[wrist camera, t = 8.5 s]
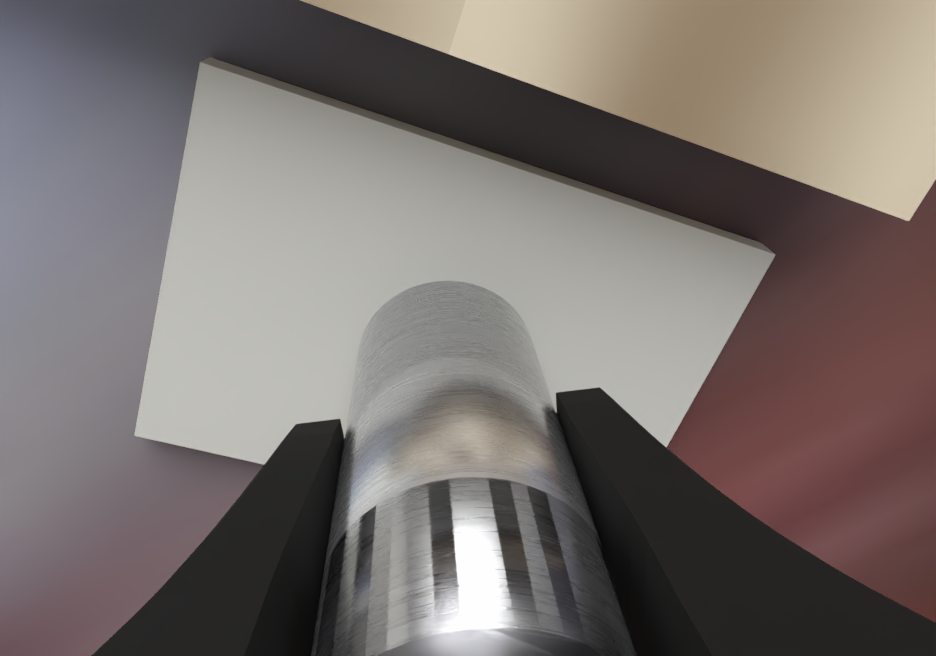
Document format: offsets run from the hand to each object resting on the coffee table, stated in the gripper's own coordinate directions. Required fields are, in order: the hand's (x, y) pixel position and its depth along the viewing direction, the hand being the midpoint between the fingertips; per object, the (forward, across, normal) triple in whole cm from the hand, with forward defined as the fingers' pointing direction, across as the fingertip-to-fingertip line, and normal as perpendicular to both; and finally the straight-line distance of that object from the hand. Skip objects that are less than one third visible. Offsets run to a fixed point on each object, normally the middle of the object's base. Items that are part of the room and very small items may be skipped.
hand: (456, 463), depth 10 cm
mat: (+4, 0, 0) cm, 4 cm away
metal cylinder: (+2, 0, 0) cm, 3 cm away
